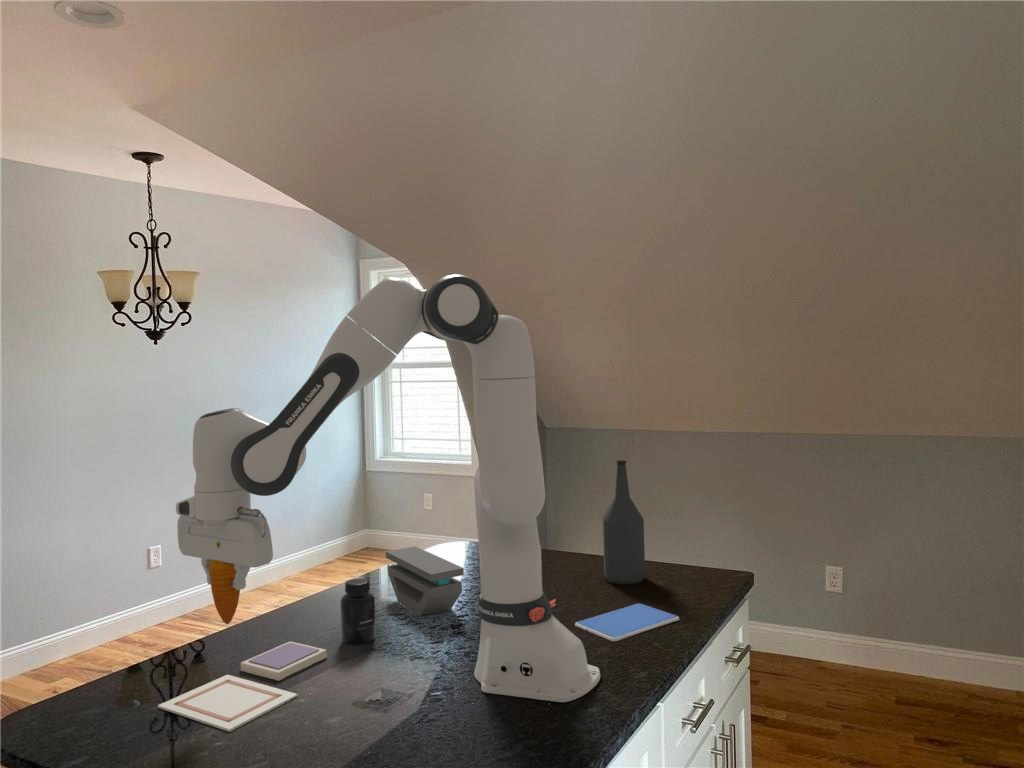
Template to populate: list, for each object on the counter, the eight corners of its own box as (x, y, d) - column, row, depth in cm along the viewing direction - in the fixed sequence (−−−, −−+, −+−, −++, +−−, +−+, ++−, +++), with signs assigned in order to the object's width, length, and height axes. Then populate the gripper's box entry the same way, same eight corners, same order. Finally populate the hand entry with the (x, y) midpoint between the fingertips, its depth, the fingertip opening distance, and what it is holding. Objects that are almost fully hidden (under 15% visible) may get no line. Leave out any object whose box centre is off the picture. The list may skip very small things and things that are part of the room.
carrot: (224, 631, 127) (220, 541, 127) (205, 626, 130) (201, 537, 130) (249, 622, 132) (245, 534, 131) (230, 617, 134) (226, 531, 134)
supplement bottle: (368, 646, 154) (365, 586, 153) (336, 645, 155) (333, 585, 155) (380, 634, 160) (378, 577, 160) (350, 633, 162) (347, 576, 161)
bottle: (647, 584, 189) (644, 462, 188) (607, 585, 189) (603, 463, 188) (641, 572, 199) (637, 456, 198) (602, 573, 199) (599, 457, 198)
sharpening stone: (465, 617, 169) (463, 568, 169) (432, 624, 165) (431, 574, 165) (417, 590, 191) (415, 546, 190) (387, 596, 186) (385, 551, 186)
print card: (297, 696, 132) (297, 693, 132) (229, 731, 120) (229, 728, 120) (227, 676, 141) (227, 673, 141) (157, 707, 129) (157, 704, 129)
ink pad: (327, 657, 149) (326, 648, 149) (278, 680, 138) (278, 671, 138) (290, 648, 154) (290, 640, 154) (241, 670, 144) (240, 661, 143)
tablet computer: (614, 644, 152) (613, 638, 152) (572, 627, 162) (572, 621, 162) (681, 622, 163) (681, 616, 163) (638, 607, 173) (638, 602, 173)
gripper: (280, 506, 127) (283, 589, 128) (201, 497, 138) (204, 574, 139) (249, 513, 122) (252, 600, 123) (169, 503, 133) (172, 583, 133)
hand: (226, 586), depth 131 cm, fingers closed on carrot, 5 cm apart
